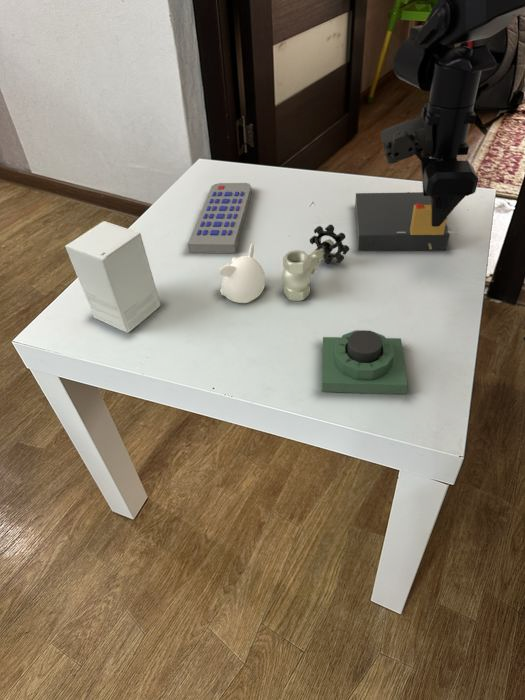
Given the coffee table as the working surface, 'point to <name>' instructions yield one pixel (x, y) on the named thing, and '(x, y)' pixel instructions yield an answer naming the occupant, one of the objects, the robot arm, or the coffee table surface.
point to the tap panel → (393, 223)
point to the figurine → (242, 278)
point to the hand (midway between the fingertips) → (430, 210)
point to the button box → (363, 368)
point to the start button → (364, 346)
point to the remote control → (221, 219)
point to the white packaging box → (115, 275)
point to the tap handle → (424, 222)
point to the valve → (310, 262)
